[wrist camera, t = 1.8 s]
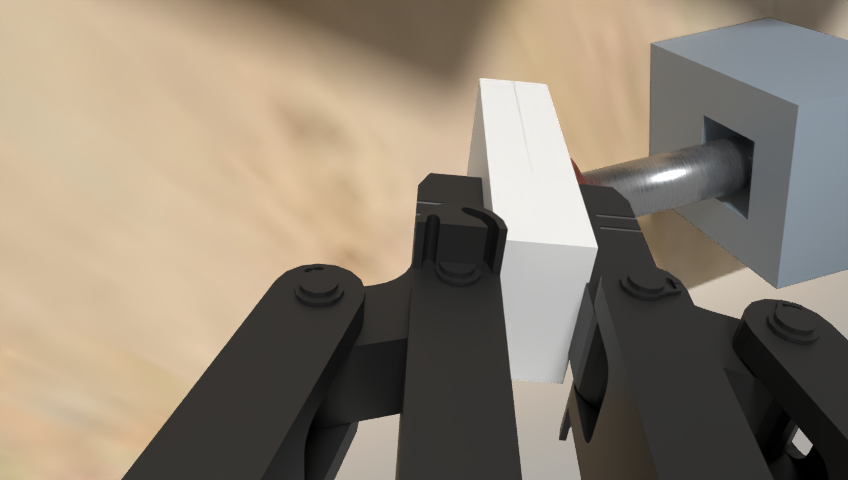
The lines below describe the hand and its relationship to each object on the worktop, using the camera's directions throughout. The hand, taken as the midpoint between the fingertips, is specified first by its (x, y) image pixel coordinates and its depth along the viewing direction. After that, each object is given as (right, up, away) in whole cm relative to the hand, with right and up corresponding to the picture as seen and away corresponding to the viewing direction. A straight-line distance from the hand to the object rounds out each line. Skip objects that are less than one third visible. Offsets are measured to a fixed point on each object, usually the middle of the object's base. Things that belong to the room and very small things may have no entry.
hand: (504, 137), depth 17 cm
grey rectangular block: (+16, +6, +30) cm, 35 cm away
